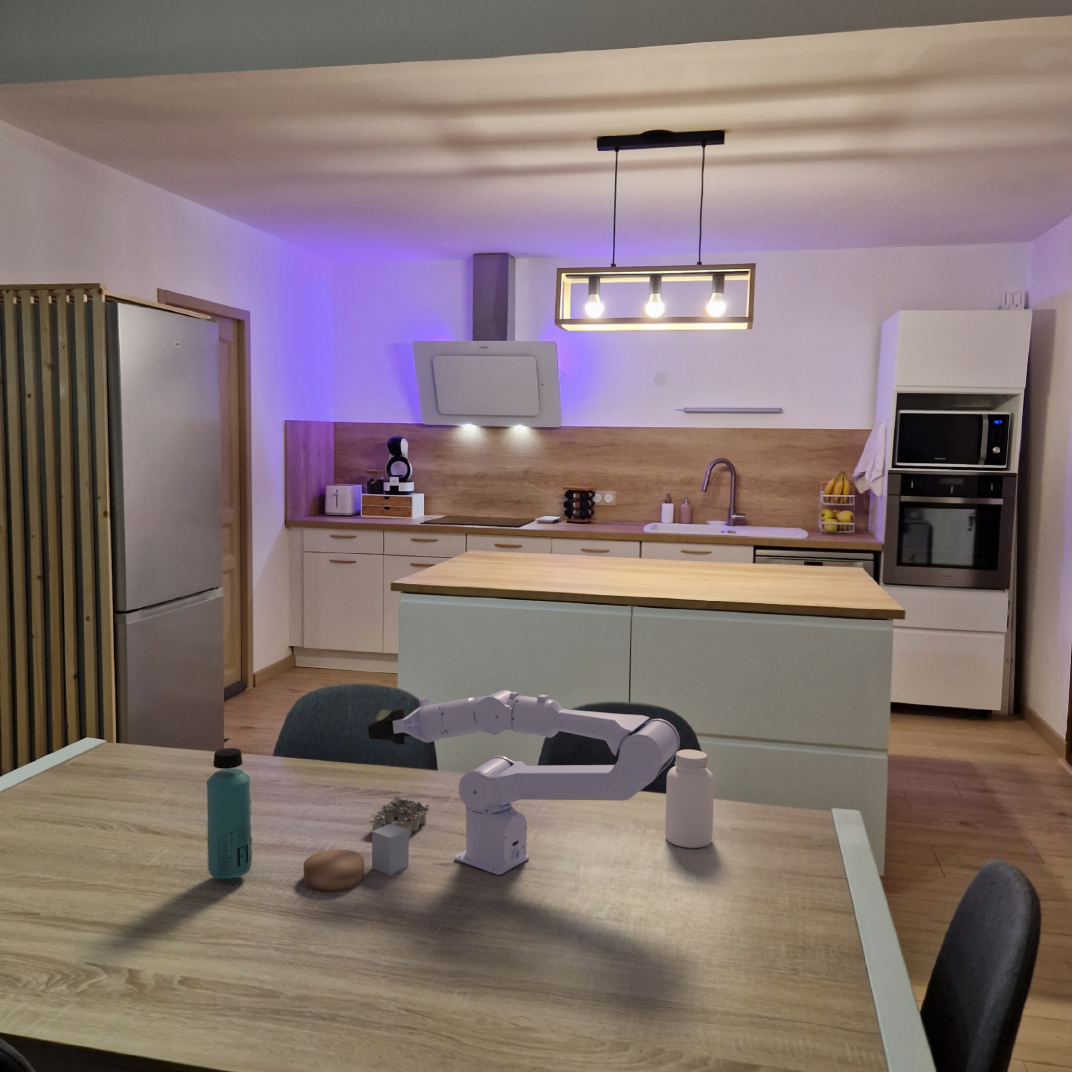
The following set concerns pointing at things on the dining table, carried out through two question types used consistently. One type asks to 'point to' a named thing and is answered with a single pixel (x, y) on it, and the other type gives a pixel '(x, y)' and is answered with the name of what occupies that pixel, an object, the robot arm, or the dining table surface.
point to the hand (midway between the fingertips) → (383, 730)
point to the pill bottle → (689, 801)
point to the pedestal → (333, 870)
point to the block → (390, 849)
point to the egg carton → (401, 814)
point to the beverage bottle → (229, 817)
